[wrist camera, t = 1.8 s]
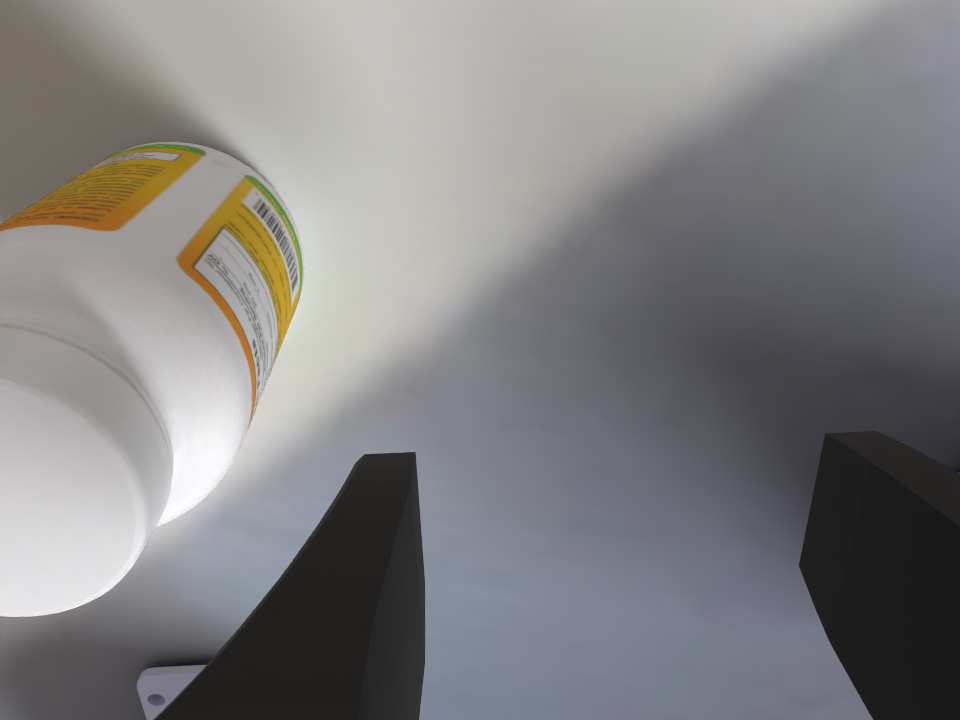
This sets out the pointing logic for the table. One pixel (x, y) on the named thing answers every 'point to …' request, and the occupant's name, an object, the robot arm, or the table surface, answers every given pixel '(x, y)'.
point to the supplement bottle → (130, 358)
